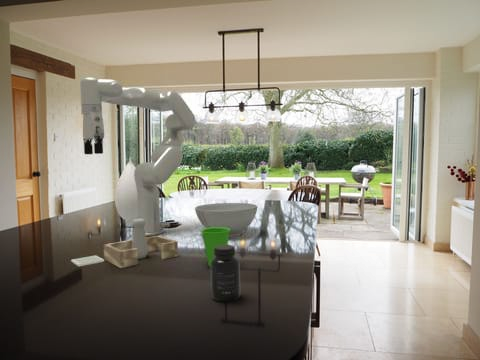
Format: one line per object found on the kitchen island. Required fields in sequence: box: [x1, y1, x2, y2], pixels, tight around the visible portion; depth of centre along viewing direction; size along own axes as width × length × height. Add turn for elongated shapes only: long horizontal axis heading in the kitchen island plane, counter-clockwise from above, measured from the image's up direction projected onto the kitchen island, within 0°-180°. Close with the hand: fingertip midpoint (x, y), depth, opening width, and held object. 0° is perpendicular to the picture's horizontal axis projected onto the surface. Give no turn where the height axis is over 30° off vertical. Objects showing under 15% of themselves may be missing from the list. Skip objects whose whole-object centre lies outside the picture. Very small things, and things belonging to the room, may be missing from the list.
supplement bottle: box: [210, 244, 241, 303], centre depth 88 cm, size 7×7×12 cm
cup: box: [200, 227, 230, 268], centre depth 114 cm, size 9×9×11 cm
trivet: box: [70, 255, 105, 267], centre depth 122 cm, size 8×8×1 cm
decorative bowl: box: [194, 202, 259, 238], centre depth 161 cm, size 27×27×12 cm
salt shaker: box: [131, 219, 149, 260], centre depth 126 cm, size 6×6×13 cm
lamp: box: [114, 156, 138, 228], centre depth 188 cm, size 16×16×35 cm
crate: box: [103, 235, 179, 269], centre depth 126 cm, size 20×14×5 cm
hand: (93, 153), depth 148 cm, fingers open, 9 cm apart
